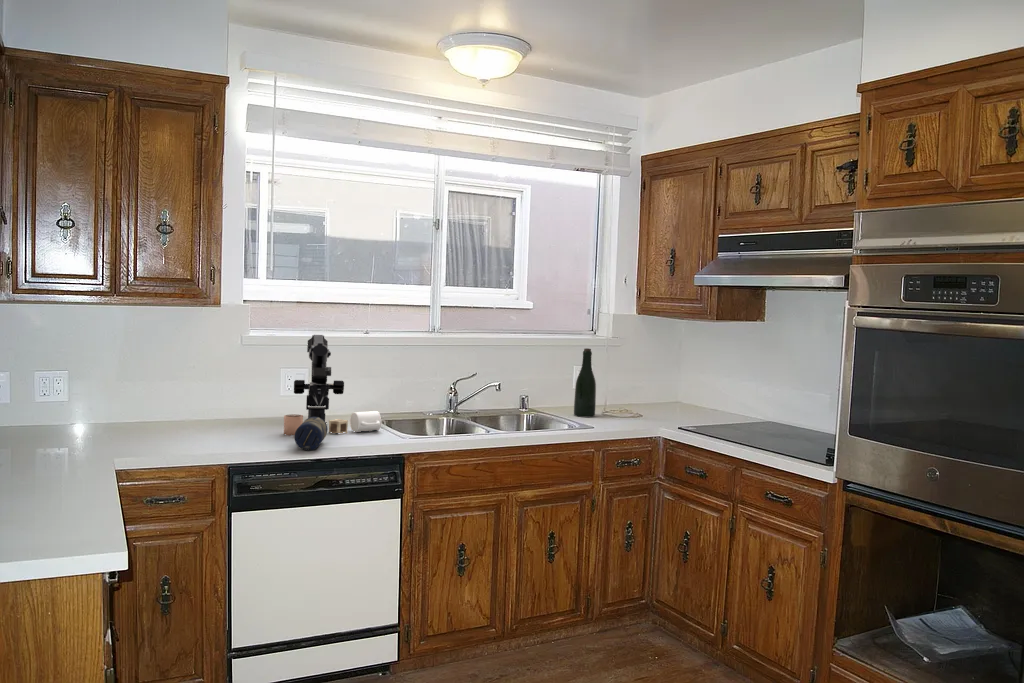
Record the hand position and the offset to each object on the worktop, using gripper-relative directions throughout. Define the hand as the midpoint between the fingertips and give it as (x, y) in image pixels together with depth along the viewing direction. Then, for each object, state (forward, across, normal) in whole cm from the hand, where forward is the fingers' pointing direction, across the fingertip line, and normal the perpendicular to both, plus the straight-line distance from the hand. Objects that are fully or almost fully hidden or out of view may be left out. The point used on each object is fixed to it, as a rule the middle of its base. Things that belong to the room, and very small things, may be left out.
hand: (319, 404), depth 290 cm
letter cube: (+4, +8, +13) cm, 16 cm away
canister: (+13, -2, -3) cm, 13 cm away
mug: (+3, +19, +14) cm, 24 cm away
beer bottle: (-25, +127, +43) cm, 137 cm away
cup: (+5, -9, +12) cm, 16 cm away
